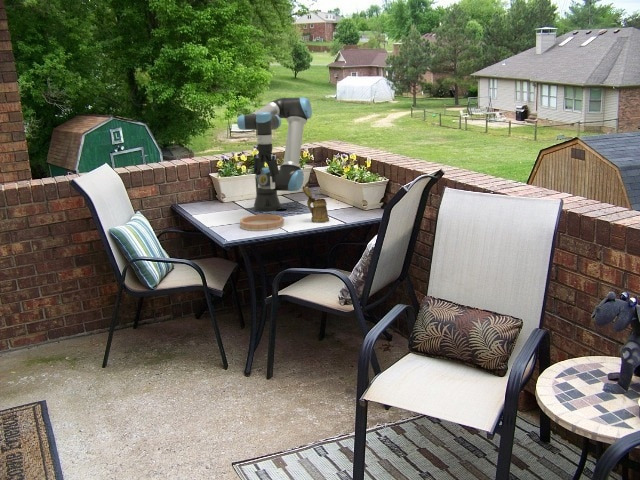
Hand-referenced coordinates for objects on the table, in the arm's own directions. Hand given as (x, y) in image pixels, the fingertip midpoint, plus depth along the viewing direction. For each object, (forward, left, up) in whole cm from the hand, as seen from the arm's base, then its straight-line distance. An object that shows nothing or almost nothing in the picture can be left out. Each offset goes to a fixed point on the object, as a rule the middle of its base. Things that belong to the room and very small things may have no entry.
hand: (266, 188), depth 358 cm
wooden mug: (+20, +15, -18) cm, 31 cm away
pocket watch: (-1, 0, 0) cm, 1 cm away
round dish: (+2, -7, -18) cm, 19 cm away
